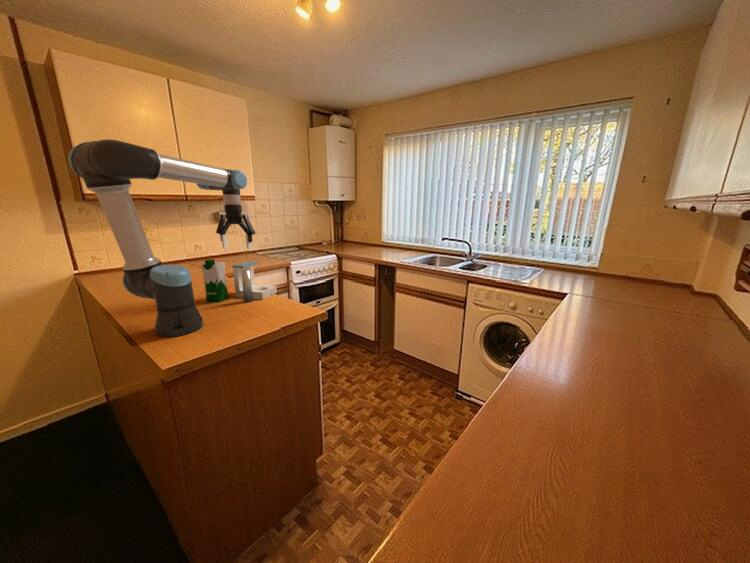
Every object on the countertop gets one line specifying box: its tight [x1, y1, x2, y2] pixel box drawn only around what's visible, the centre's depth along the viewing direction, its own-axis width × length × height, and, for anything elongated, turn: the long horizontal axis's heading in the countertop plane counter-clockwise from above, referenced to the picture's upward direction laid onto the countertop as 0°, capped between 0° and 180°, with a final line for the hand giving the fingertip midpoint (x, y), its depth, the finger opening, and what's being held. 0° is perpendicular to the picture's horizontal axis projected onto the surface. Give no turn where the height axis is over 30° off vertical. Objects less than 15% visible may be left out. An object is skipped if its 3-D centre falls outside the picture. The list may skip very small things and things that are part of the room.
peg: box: [241, 270, 254, 303], centre depth 141 cm, size 4×4×15 cm
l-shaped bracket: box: [232, 260, 278, 300], centre depth 151 cm, size 12×16×16 cm
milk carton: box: [199, 258, 229, 303], centre depth 142 cm, size 9×9×20 cm
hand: (237, 248), depth 146 cm, fingers open, 13 cm apart
